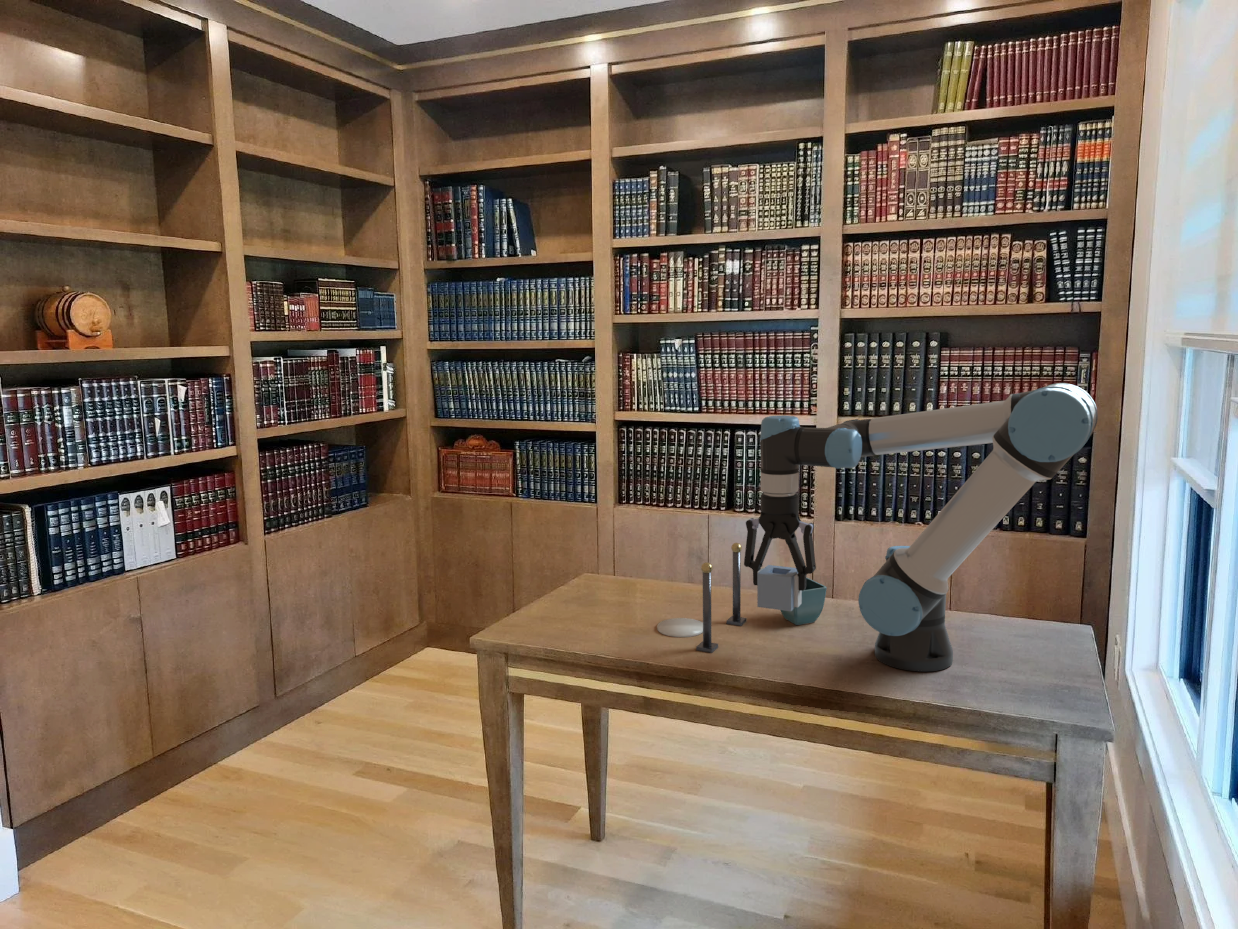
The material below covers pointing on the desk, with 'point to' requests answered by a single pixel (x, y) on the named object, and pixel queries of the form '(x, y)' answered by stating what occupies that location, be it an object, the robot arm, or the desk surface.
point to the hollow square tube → (776, 587)
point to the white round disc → (680, 627)
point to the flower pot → (808, 604)
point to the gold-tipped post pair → (733, 620)
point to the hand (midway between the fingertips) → (779, 602)
